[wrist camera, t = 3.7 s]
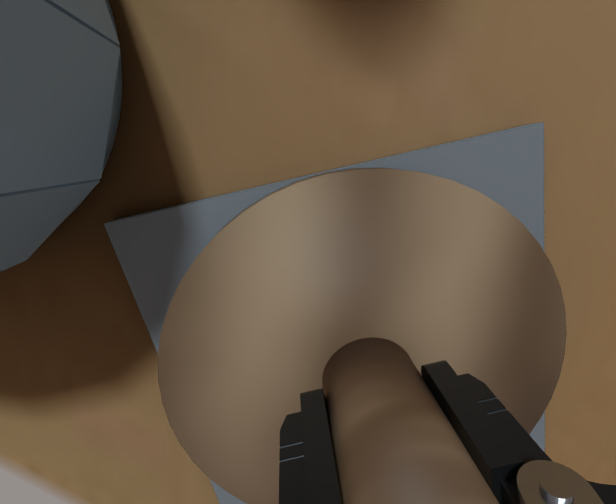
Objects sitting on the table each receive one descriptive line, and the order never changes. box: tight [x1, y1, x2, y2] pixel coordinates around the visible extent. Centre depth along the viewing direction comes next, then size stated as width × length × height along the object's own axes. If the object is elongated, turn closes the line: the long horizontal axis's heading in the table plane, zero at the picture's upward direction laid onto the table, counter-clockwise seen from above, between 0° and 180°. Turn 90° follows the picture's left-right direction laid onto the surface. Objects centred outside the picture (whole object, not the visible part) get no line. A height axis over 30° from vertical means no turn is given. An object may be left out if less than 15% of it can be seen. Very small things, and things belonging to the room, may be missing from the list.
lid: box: [158, 167, 566, 504], centre depth 9 cm, size 14×14×7 cm
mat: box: [104, 122, 545, 504], centre depth 13 cm, size 14×14×1 cm
